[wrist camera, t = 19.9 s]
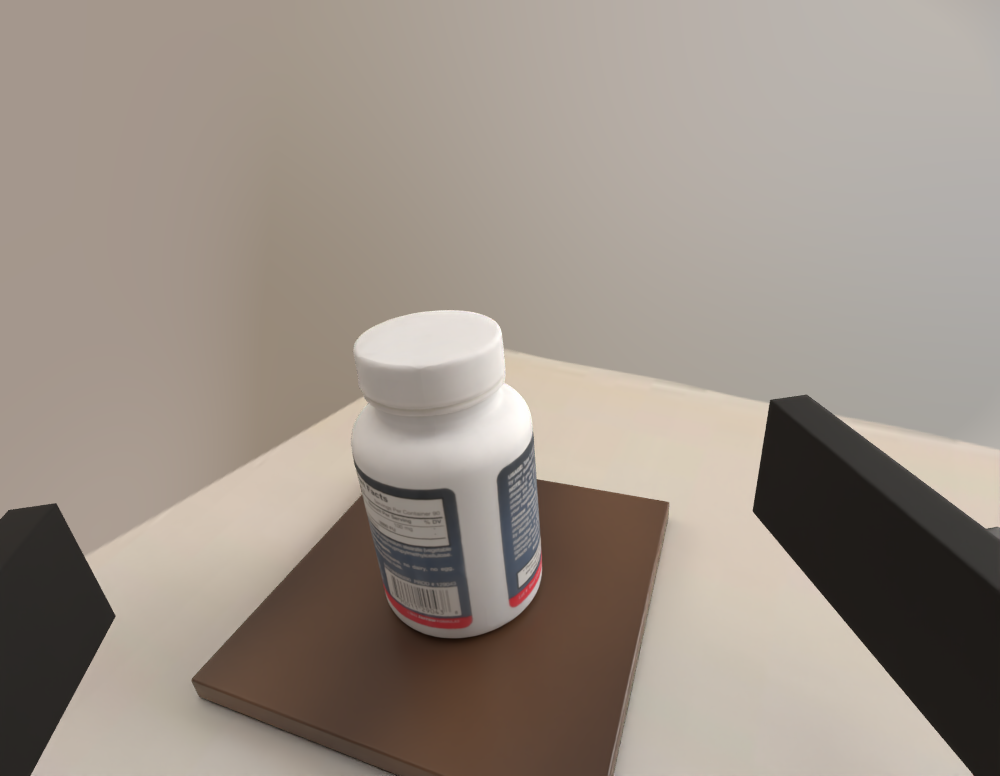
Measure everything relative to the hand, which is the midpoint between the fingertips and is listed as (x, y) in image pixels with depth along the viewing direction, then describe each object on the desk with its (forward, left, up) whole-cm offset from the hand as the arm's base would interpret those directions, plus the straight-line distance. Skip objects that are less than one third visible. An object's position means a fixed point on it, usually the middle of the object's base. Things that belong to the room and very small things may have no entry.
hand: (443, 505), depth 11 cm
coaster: (-3, +5, -8) cm, 10 cm away
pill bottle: (-3, +5, -8) cm, 10 cm away
